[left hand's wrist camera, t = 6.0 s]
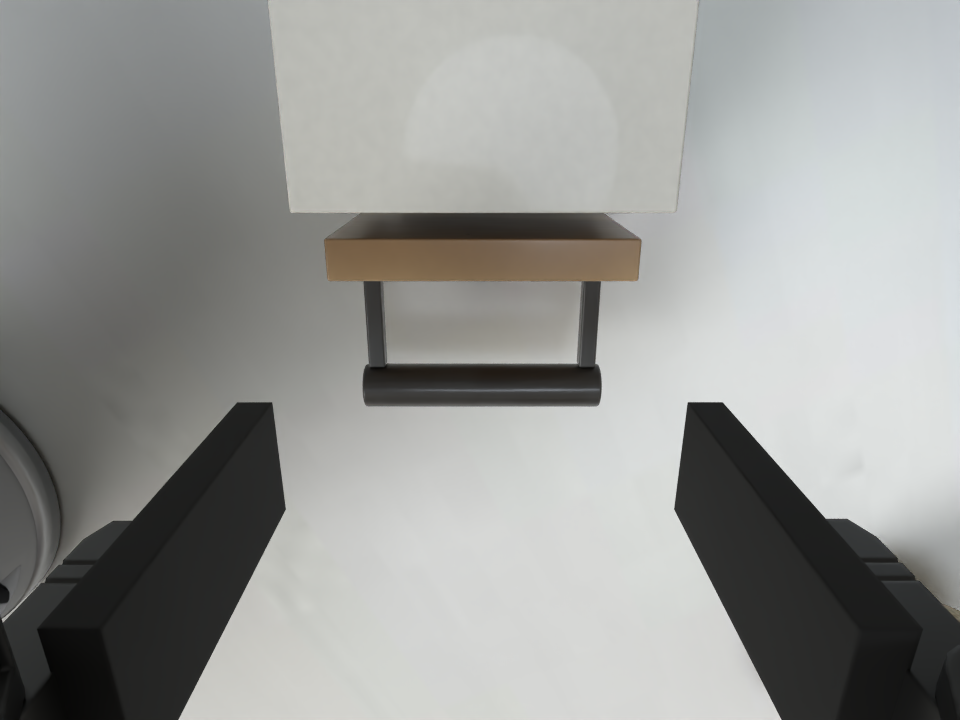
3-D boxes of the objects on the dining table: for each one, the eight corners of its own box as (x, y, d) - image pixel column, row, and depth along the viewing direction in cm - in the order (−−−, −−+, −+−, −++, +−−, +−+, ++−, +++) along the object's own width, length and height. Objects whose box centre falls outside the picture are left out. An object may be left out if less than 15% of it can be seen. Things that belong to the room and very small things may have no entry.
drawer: (581, 366, 27) (622, 462, 20) (382, 366, 27) (342, 463, 20) (621, -294, 20) (716, -578, 12) (343, -295, 20) (252, -577, 12)
